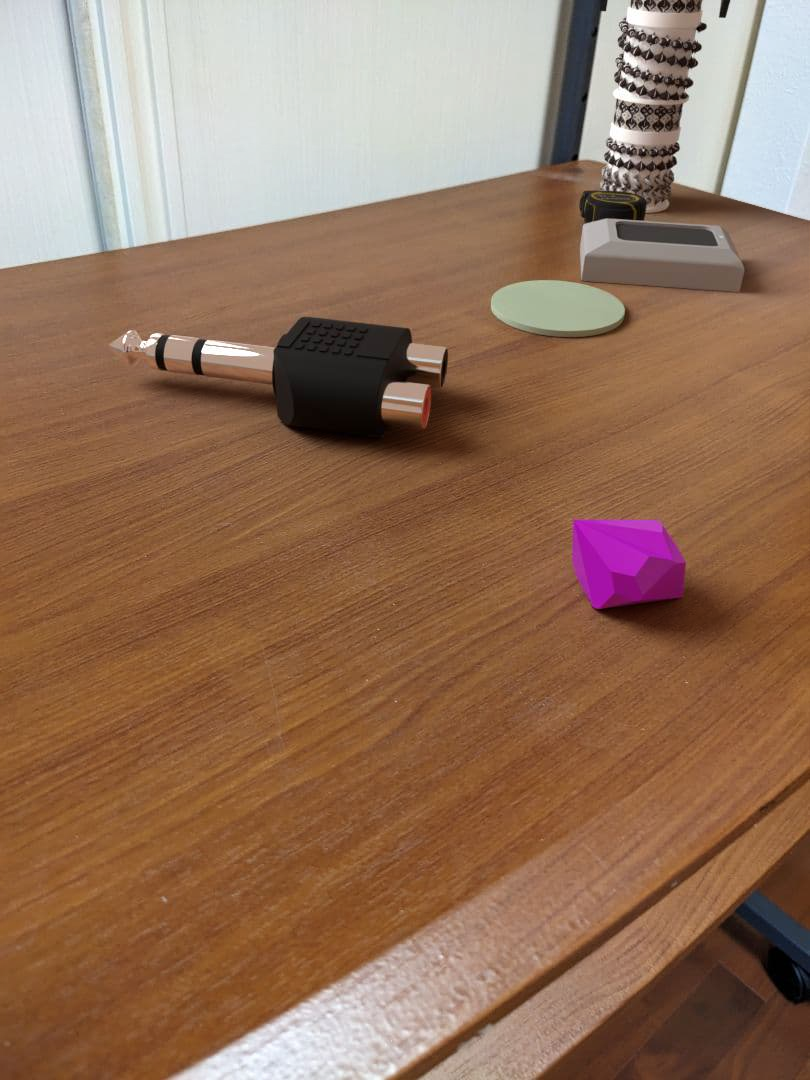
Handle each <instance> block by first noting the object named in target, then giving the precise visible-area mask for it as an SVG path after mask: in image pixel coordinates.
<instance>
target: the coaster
mask: <svg viewBox="0 0 810 1080" xmlns="http://www.w3.org/2000/svg"><path fill="white" fill-rule="evenodd" d="M490 309H491V312H492V314H493V316H495V317H496V318H497V320H499V321H500V322H502V323H504V324H505V325H507V326H510V327H512V328H514V329H517V330H520V331H523V332H527V333H531V334H535V335H540V336H541V335H542V336H546V337H547V336H548V337H555V338H585V337H592V336H593V337H594V336H597V335H602V334H605V333H608V332H611V331H613V330H615V329H617V328H619V326H621V324H622V323H623V321H624V319H625V315H626V308H625V305H624V303H623V302H622V301H621V300H620V299H619V298H617V297H616V296H615V295H613V294H612V293H610V292H608V291H605V290H603V289H600V288H598V287H595V286H592V285H587V284H584V283H579V282H573V281H568V280H567V281H566V280H557V279H556V280H554V279H537V280H534V279H533V280H525V281H520V282H519V281H518V282H515V283H511V284H508V285H505V286H503V287H501V288H499V289H497V291H496V292H494V293H493V295H492V297H491V299H490Z"/></svg>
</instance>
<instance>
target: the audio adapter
mask: <svg viewBox="0 0 810 1080" xmlns="http://www.w3.org/2000/svg"><path fill="white" fill-rule="evenodd" d="M107 346H108V349H109V350H110V351H111V352H113V354H114V355H115V356H117V358H119V359H120V360H121V362H122V363H124V364H125V365H126V366H128V368H129V367H130V368H134V367H135V366H137V365H138V364H139V362H140V361H141V360H145V362H146V364H147V366H148V367H149V368H150V369H151V370H153V371H161V372H164V371H165V372H170V373H176V374H184V375H192V376H204V377H208V378H215V379H222V380H223V379H224V380H230V381H239V382H247V383H254V384H255V383H256V384H263V385H271V386H272V390H273V394H274V396H275V400H276V412H277V418H278V417H279V419H280V420H281V422H282V423H281V422H280V423H281V424H283V425H285V426H294V427H301V428H308V429H316V430H324V431H331V432H338V433H345V434H352V435H359V436H367V437H374V438H383V437H384V435H385V434H386V433H387V430H388V428H389V427H390V426H391V427H398V428H405V429H412V430H420V431H424V430H425V429H426V428H427V425H428V422H429V419H430V414H431V406H432V389H436V390H443V388H444V387H445V384H446V380H447V375H448V368H449V367H448V366H449V348H448V347H447V346H443V345H442V346H441V345H432V344H423V343H416V342H413V335H412V331H411V329H410V328H409V327H402V326H392V325H385V324H384V325H383V324H376V323H366V322H357V321H348V320H341V319H330V318H323V317H313V316H302V317H300V318H299V319H297V321H296V322H295V323H294V324H293V326H291V328H290V329H289V330H288V332H286V333H284V334H282V336H280V337H279V340H278V342H277V344H276V346H275V347H274V346H266V345H257V344H251V343H250V344H249V343H241V342H233V341H225V340H216V339H204V338H200V337H192V336H184V335H183V336H182V335H174V334H172V335H170V334H166V333H158V332H155V333H153V334H150V336H149V337H148V339H147V340H143V339H142V337H141V335H140V333H139V332H138V331H137V330H134V329H131V330H129V331H127V332H125V333H124V334H122V335H121V336H119V337H118V338H116V339H114V340H112V341H111V342H109V344H108V345H107Z"/></svg>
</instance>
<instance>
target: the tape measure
mask: <svg viewBox="0 0 810 1080" xmlns="http://www.w3.org/2000/svg"><path fill="white" fill-rule="evenodd" d="M581 194H582V195H581V197H580V198H579V205H578V207H579V214H580V217H581V218H583V223H584V224H586V223H590V222H594V221H598V220H602V219H606V218H608V219H623V220H638V221H645V218H646V214H647V213H646V204H647V203H646V199H645V198H644V197H642V196H640V195H637V194H633V193H629V192H621V191H601V190H584V191H582V193H581Z"/></svg>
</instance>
